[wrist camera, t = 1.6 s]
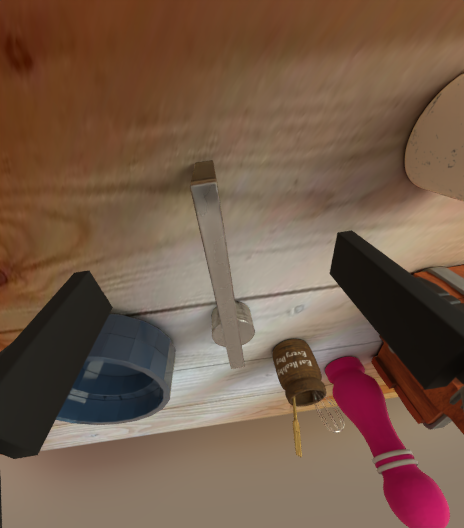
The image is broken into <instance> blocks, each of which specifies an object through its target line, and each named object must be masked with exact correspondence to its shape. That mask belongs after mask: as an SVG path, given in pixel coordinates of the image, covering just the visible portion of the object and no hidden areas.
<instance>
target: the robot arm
mask: <svg viewBox="0 0 464 528" xmlns="http://www.w3.org/2000/svg"><path fill="white" fill-rule="evenodd" d="M330 275H331V276H332V277H333V278H334V280H335V281H336V282H337V283H338V285H339V286H340V287H341V288H342V289H343V291H344V292H345V293H346V294H347V296H348V297H349V298H350V299H351V300H352V302H353V303H354V304H355V305H356V307H357V308H358V309H359V310H360V311H361V313H362V314H363V315H364V316H365V318H366V319H367V320H368V321H369V322H370V324H371V325H372V326H373V327H374V329H375V330H376V331H377V332H378V333H379V335H380V336H381V337H382V338H383V340H384V341H385V342H386V343H387V344H388V346H389V347H390V348H391V349H392V351H393V352H394V353H395V354H396V355H397V357H398V358H399V359H400V360H401V361H402V363H403V364H404V365H405V366H406V368H407V369H408V370H409V371H410V372H411V374H412V375H413V376H414V377H415V379H416V380H417V381H418V382H419V383H420V385H421V386H422V387H423V388H424V390H428V389H434V388H440V387H446V386H448V385H449V384H450V383H451V381H452V380H453V379H454V378H455V377H456V378H457V379H458V380H459V381H460V382H461V383H462V384H463V386H462V387H461V388H460V389H459V390H458V391H457V392H456V393H455V394H454V395H453V396H452V397H451V398H450V402H449V403H450V404H452V405H455V404H456V403H457V402H458V401H459V400H460V399H462V406H461V407H460V408H462V409H463V412H464V303H461V301H460V300H459V299H457V298H456V297H454V296H453V295H450V294H449V292H447V291H446V290H444V289H443V288H441V287H440V286H439V285H437V284H435V283H433V282H431V281H429V280H426V279H424V278H422V277H414V276H413V275H412V274H410V273H409V272H407V271H406V270H405V269H403V268H402V267H401V266H399V265H398V264H397V263H395V262H394V261H393V260H391V259H390V258H388V257H387V256H386V255H384V254H383V253H382V252H380V251H379V250H378V249H376V248H375V247H374V246H372V245H371V244H369V243H368V242H367V241H365V240H364V239H363V238H361V237H360V236H359V235H357V234H356V233H355V232H353V231H352V230H351V231H345V232H338V233H337V238H336V243H335V248H334V254H333V259H332V264H331V269H330ZM112 308H113V307H112V306H111V304H110V303H109V301H108V299H107V298H106V296H105V295H104V293H103V292H102V290H101V288H100V287H99V285H98V284H97V282H96V280H95V279H94V277H93V276H92V274H91V273H90V271H83V272H76V273H74V274H73V275H72V276H71V277H70V278H69V279H68V281H67V282H66V283H65V284H64V285H63V286H62V287H61V288H60V290H59V291H58V292H57V293H56V294H55V295H54V296H53V297H52V299H51V300H50V301H49V302H48V303H47V304H46V305H45V306H44V308H43V309H42V310H41V311H40V312H39V313H38V314H37V315H36V317H35V318H34V319H33V320H32V321H31V322H30V323H29V325H28V326H27V327H26V328H25V329H24V330H23V331H22V332H21V334H20V335H19V336H18V337H17V338H16V339H15V340H14V341H13V342H12V343H11V344H10V345H9V346H7V347H6V348H5V349H4V350H2V351H1V352H0V454H3V455H5V456H8V457H10V458H13V459H17V458H22V457H28V456H34V455H38V453H39V451H40V449H41V447H42V445H43V443H44V441H45V439H46V437H47V435H48V433H49V431H50V430H51V428H52V426H53V424H54V422H55V420H56V418H57V416H58V414H59V412H60V410H61V408H62V406H63V404H64V402H65V400H66V398H67V396H68V394H69V392H70V390H71V388H72V386H73V384H74V382H75V381H76V379H77V377H78V375H79V373H80V371H81V369H82V367H83V365H84V363H85V361H86V359H87V357H88V355H89V353H90V351H91V349H92V347H93V345H94V343H95V341H96V339H97V337H98V335H99V333H100V332H101V330H102V328H103V326H104V324H105V322H106V320H107V318H108V316H109V314H110V312H111V310H112ZM0 479H1V478H0ZM1 515H2V513H1V480H0V528H2V516H1Z"/></svg>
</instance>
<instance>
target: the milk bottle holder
mask: <svg viewBox="0 0 464 528" xmlns="http://www.w3.org/2000/svg"><path fill="white" fill-rule="evenodd" d="M413 276H414V277H422V278H424V279H426V280H429V281H431V282H433V283H435V284H437V285H439V286H440V287H441V288H443V289H444V290H446V291H447V292H449V294H450V295H453V296H454V297H456V298H457V299H459V300H460V301H461V303H464V265H461V266H455V267H449V268H446V267H442V266H440V267H434V268H428V269H424V270H423V271H422V272H419V273H414V275H413ZM379 337H380V338H381V339H382V341H383V342H384V344H383V346H382V348H381V350H380V352H379V354H378V356H377V357H373V359H372V361H371V362H372V364H373V366H374V367H375V369H376V371H377V372H378V374H379V375H380V377H381V378H382V379H383V381H384V382H385V383H386V385H387V386H388V387H389V389H390V388H394V390H395V391H396V393H397V394H398V396H399V397H400V399H401V401H402V402H403V404H404V405H405V407H406V408H407V410H408V411H409V412H410V414H411V415H412V416H413V418H414V419H415V420H416V421H417V423H418V424H420V423H423V424H424V426H425V427H427V428H428V429H436V428H442V427H445V426H446V425H447V424H448V423H450V422H451V421H453V422H454V423H455V425H456V426H457V427H458V428H459V429H460V431H461V432H462V433H463V434H464V412H463V409H462V408H460V407H461V406H462V399H460V400H459V401H458V402H457V403H456V404H455V405H452V404H450V403H449V402H450V398H451V397H452V396H453V395H454V394H455V393H456V392H457V391H458V390H459V389H460V388H461V387H462V386H463V384H462V383H461V382H460V381H459V380H458V379H457V378H456V377H455V378H454V379H453V380H452V381H451V383H450V384H449V385H448V386H446V387H440V388H434V389H428V390H424V388H423V387H422V386H421V385H420V383H419V382H418V381H417V380H416V379H415V377H414V376H413V375H412V374H411V372H410V371H409V370H408V369H407V368H406V366H405V365H404V364H403V363H402V361H401V360H400V359H399V358H398V357H397V355H396V354H395V353H394V352H393V351H392V349H391V348H390V347H389V346H388V344H387V343H386V342H385V341H384V340H383V338H382V337H381V336H379Z"/></svg>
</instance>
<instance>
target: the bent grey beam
mask: <svg viewBox="0 0 464 528" xmlns="http://www.w3.org/2000/svg"><path fill="white" fill-rule="evenodd" d="M190 189H191V193H192V198H193V202H194V207H195V211H196V216H197V220H198V224H199V229H200V233H201V238H202V242H203V247H204V251H205V255H206V260H207V264H208V269H209V273H210V278H211V282H212V286H213V291H214V295H215V300H216V304H217V307H216V308H215V309H214V310H213V312H212V315H211V318H212V338H213V340H214V342H215V343H217V344H218V345H220V346H223V347H226V349H227V353H228V357H229V362H230V366H231V369H234V368H240V367H244V366H245V365H244V358H243V352H242V345H244V344H246V343H248V342H249V341H250V340H251V339H252V338H253V336H254V333H255V330H254V326H253V321H252V317H251V313H250V309H249V308H248V306H247V305H245V304H244V303H242V302H238V301H235V299H234V292H233V285H232V279H231V272H230V265H229V259H228V252H227V246H226V239H225V232H224V226H223V219H222V212H221V206H220V199H219V192H218V186H217V180H216V174H215V169H214V163H213V160H211V161H204V162H197V163H195V167H194V172H193V176H192V180H191V185H190Z"/></svg>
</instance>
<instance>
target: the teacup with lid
mask: <svg viewBox="0 0 464 528" xmlns="http://www.w3.org/2000/svg"><path fill="white" fill-rule="evenodd" d="M405 169H406V173H407V176H408V177H409V179H410V180H411V182H412V183H413V184H415V185H416V186H418V187H420V188H423V189H426V190H429V191H432V192H435V193H439V194H442V195H445V196H448V197H451V198H454V199H458V200H461V201H464V73H463V74H462V75H460V76H459V77H457V78H456V79H454V80H453V81H452V82H451V83H449V84H448V85H447V86H446V87H445V88H444V89H443V90H442V91H441V92H440V93H439V94H438V95H437V96H436V97H435V98H434V99H433V100H432V101H431V103H430V104H429V105H428V106H427V108H426V109H425V110H424V112H423V113H422V115H421V116H420V118H419V119H418V121H417V123H416V125H415V126H414V128H413V130H412V133H411V135H410V138H409V140H408V143H407V147H406V152H405Z"/></svg>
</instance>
